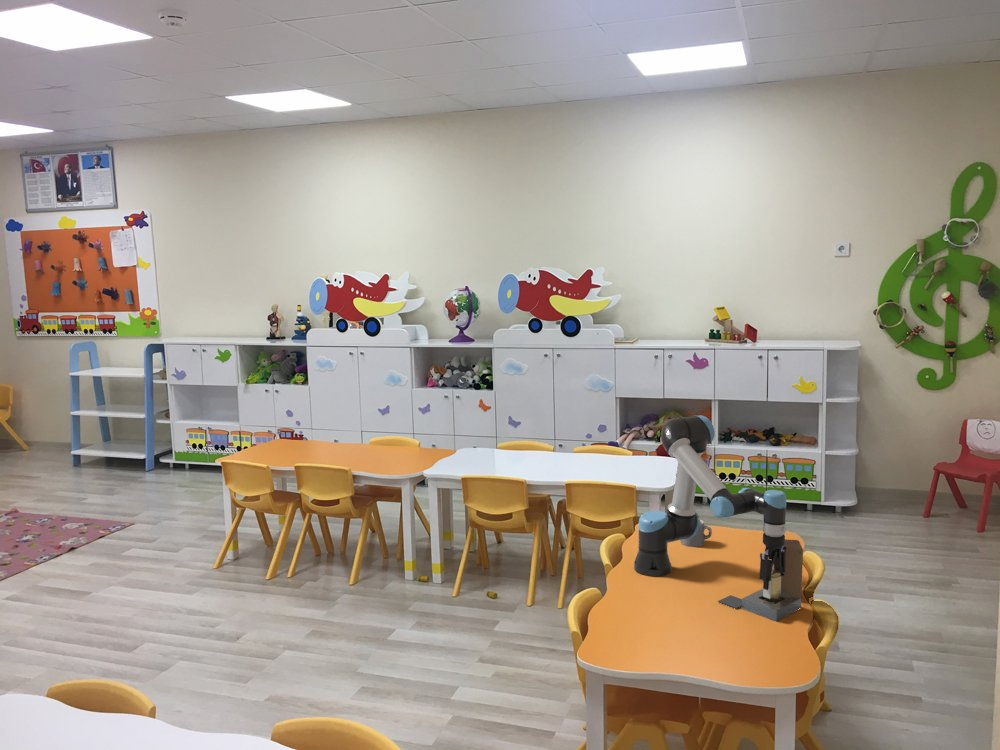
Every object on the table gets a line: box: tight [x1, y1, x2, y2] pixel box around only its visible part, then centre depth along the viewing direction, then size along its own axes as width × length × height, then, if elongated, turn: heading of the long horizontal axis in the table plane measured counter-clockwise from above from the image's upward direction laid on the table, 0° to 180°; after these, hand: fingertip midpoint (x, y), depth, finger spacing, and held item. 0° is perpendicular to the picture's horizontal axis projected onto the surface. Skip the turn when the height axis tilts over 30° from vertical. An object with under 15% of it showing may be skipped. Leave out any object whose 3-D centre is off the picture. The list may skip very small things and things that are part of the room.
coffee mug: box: [680, 518, 713, 548], centre depth 364 cm, size 13×10×10 cm
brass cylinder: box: [764, 569, 781, 604], centre depth 295 cm, size 5×5×14 cm
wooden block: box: [772, 539, 804, 599], centre depth 308 cm, size 10×10×20 cm
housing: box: [741, 588, 802, 623], centre depth 296 cm, size 14×16×4 cm
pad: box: [717, 594, 742, 610], centre depth 302 cm, size 8×8×1 cm
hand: (771, 594), depth 296 cm, fingers open, 6 cm apart
